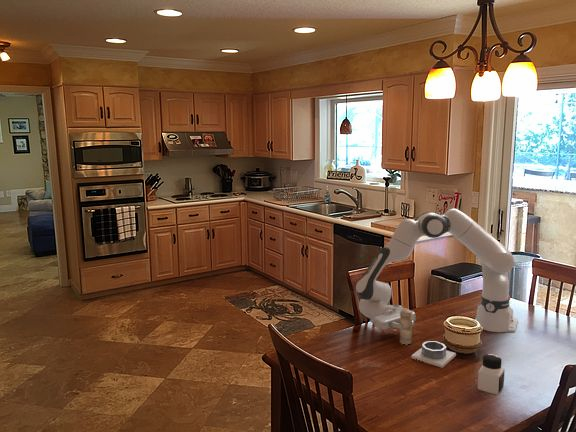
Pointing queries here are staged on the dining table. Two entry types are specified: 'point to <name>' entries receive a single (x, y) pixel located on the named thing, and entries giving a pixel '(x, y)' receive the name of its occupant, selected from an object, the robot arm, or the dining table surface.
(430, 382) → the dining table surface
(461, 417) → the dining table surface
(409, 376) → the dining table surface
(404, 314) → the wooden pin
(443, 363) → the socket board
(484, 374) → the medicine bottle
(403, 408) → the dining table surface
